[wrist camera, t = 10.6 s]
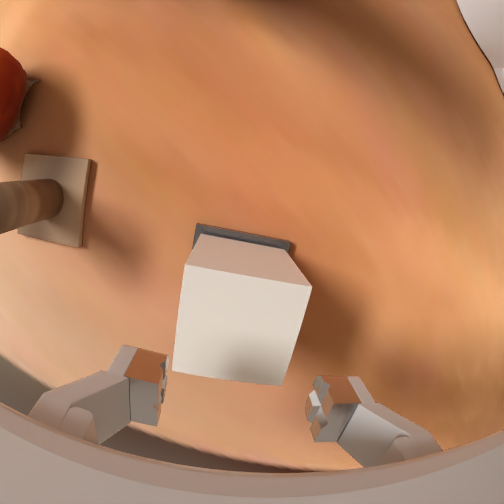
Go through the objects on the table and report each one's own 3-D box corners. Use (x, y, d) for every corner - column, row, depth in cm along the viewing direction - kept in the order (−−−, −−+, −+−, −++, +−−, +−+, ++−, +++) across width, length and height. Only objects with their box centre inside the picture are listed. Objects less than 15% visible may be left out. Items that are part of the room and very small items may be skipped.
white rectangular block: (284, 249, 19) (312, 286, 12) (266, 324, 20) (281, 386, 13) (200, 233, 18) (185, 264, 12) (188, 311, 19) (171, 370, 13)
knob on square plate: (91, 159, 17) (31, 154, 10) (81, 245, 18) (24, 277, 12) (28, 153, 16) (-35, 152, 10) (21, 232, 18) (-39, 254, 11)
